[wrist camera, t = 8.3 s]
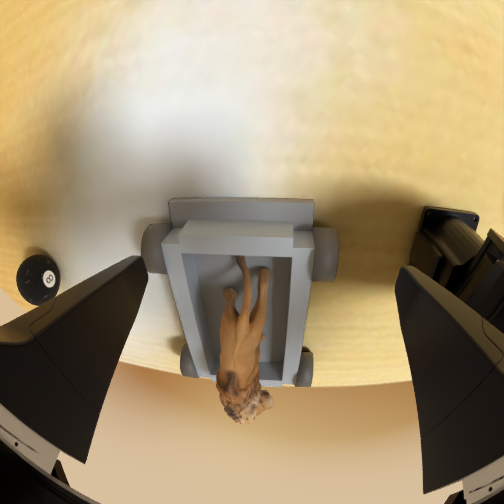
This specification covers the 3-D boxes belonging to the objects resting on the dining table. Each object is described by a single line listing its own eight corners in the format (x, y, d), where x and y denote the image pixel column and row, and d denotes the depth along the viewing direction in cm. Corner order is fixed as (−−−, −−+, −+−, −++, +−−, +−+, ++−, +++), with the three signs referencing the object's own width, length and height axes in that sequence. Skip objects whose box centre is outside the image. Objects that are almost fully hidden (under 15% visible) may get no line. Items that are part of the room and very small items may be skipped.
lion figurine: (278, 359, 29) (273, 431, 21) (232, 357, 30) (218, 427, 22) (270, 245, 21) (259, 334, 14) (204, 248, 22) (166, 329, 15)
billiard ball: (74, 284, 28) (49, 316, 23) (50, 286, 30) (26, 314, 25) (53, 242, 25) (21, 272, 20) (30, 249, 27) (2, 275, 22)
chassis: (334, 200, 20) (343, 224, 16) (306, 371, 31) (307, 398, 28) (154, 199, 21) (131, 220, 18) (195, 363, 33) (187, 388, 29)
